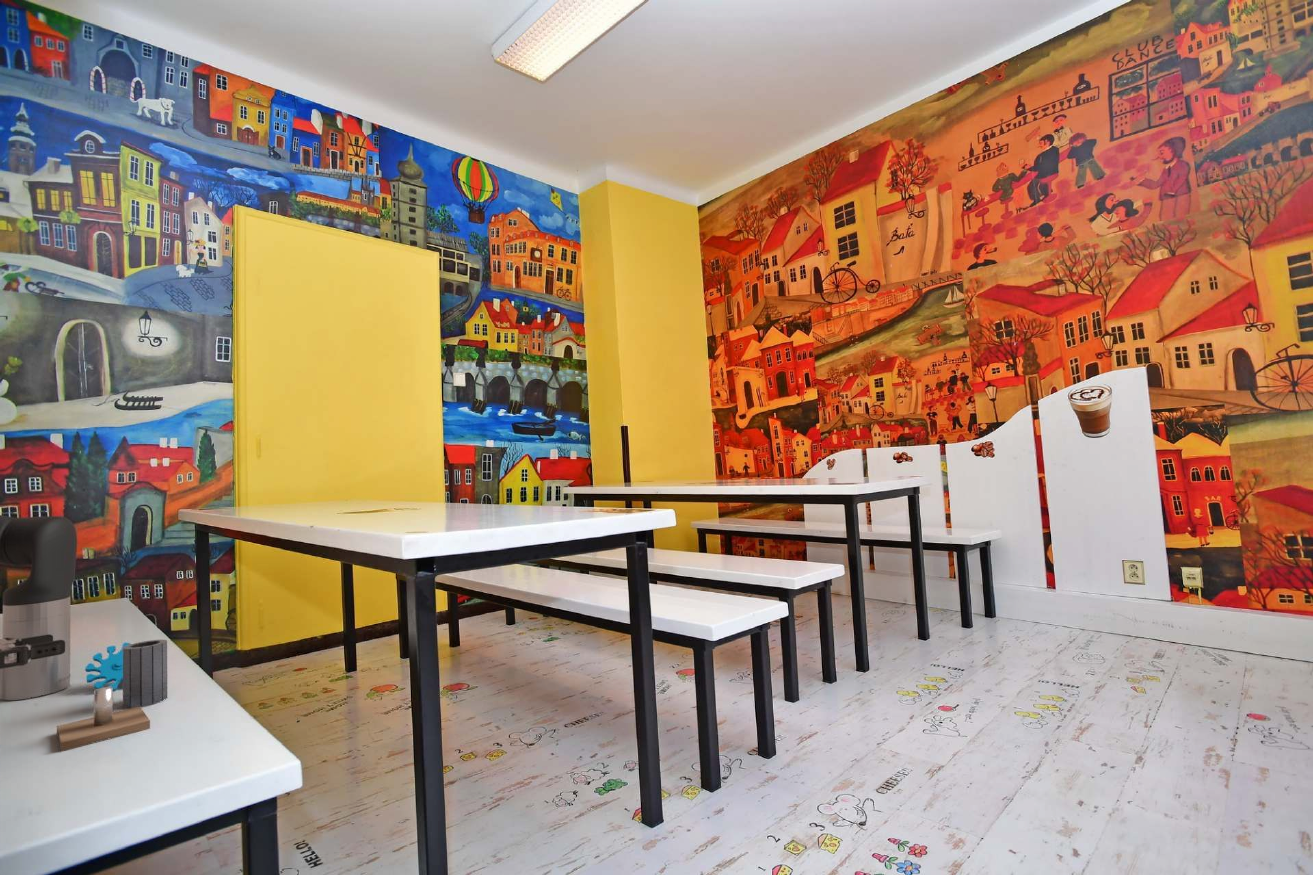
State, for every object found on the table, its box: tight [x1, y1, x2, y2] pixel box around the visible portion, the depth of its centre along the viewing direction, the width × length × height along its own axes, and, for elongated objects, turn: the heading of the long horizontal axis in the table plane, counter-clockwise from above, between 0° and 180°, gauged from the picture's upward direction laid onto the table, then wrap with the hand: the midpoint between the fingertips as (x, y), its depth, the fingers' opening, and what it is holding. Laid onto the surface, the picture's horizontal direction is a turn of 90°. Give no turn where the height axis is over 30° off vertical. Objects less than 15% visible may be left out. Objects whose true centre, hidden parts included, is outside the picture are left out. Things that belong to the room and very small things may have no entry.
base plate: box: [56, 706, 151, 752], centre depth 97 cm, size 10×10×1 cm
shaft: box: [93, 686, 114, 726], centre depth 97 cm, size 2×2×5 cm
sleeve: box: [122, 639, 168, 709], centre depth 110 cm, size 6×6×10 cm
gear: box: [84, 642, 131, 692], centre depth 122 cm, size 11×6×10 cm
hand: (58, 643), depth 101 cm, fingers open, 8 cm apart
